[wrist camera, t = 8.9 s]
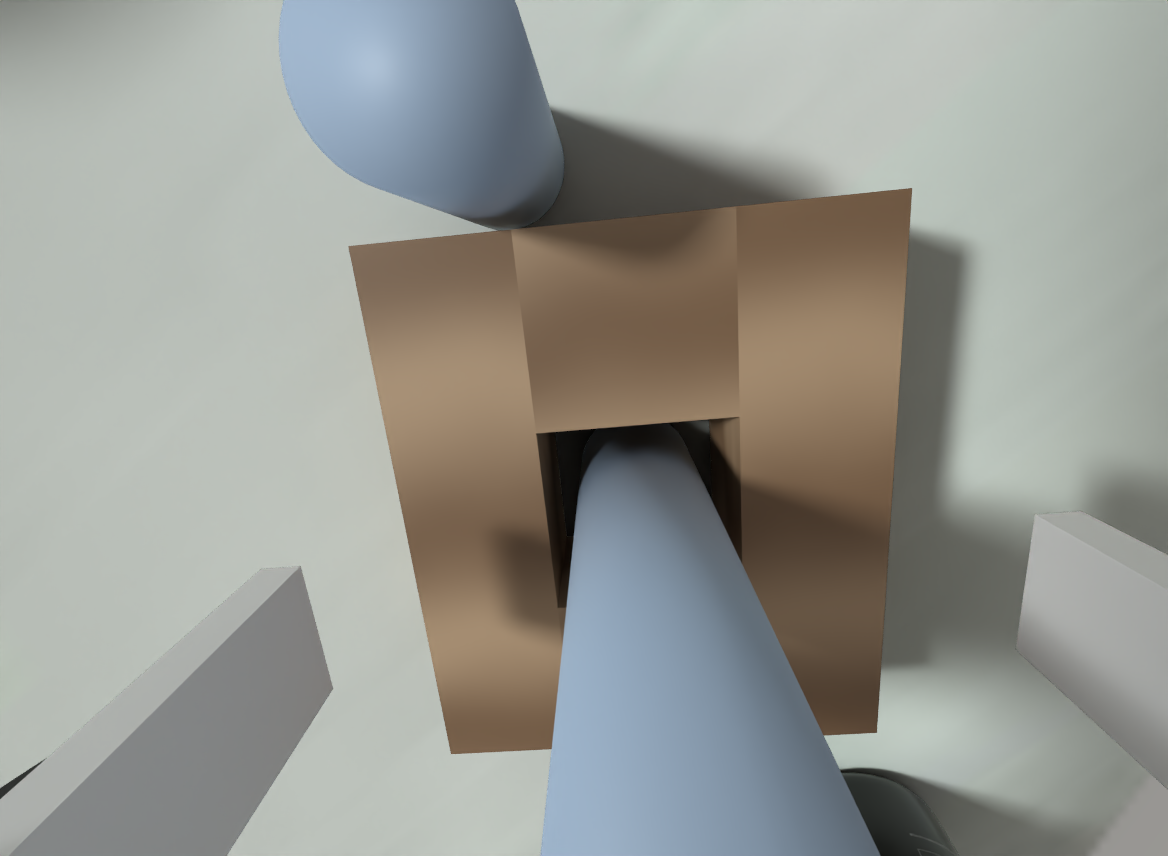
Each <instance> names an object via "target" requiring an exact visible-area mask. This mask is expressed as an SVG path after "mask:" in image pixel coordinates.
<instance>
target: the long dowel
mask: <svg viewBox="0 0 1168 856" xmlns="http://www.w3.org/2000/svg"><path fill="white" fill-rule="evenodd" d="M541 856H880V854H879V851H878V849H877V847H876V845H875V843H874V841H873V839H872V837H871V835H870V832H869V830H868V828H867V826H866V824H865V822H864V820H863V818H862V816H861V814H860V811H859V809H858V807H857V805H856V803H855V801H854V799H853V797H852V795H851V792H850V790H849V788H848V786H847V784H846V782H845V780H844V778H843V776H842V773H841V771H840V769H839V767H838V765H837V763H836V761H835V759H834V757H833V755H832V752H831V750H830V748H829V746H828V744H827V742H826V740H825V738H824V736H823V733H822V731H821V729H820V727H819V725H818V723H817V721H816V719H815V717H814V715H813V712H812V710H811V708H810V706H809V704H808V702H807V700H806V698H805V696H804V693H803V691H802V689H801V687H800V685H799V683H798V681H797V679H796V677H795V675H794V672H793V670H792V668H791V666H790V664H789V662H788V660H787V658H786V656H785V653H784V651H783V649H782V647H781V645H780V643H779V641H778V639H777V637H776V635H775V632H774V630H773V628H772V626H771V624H770V622H769V620H768V618H767V616H766V613H765V611H764V609H763V607H762V605H761V603H760V601H759V599H758V597H757V595H756V592H755V590H754V588H753V586H752V584H751V582H750V580H749V578H748V576H747V573H746V571H745V569H744V567H743V565H742V563H741V561H740V559H739V557H738V555H737V552H736V550H735V548H734V546H733V544H732V542H731V540H730V538H729V536H728V533H727V531H726V529H725V527H724V525H723V523H722V521H721V519H720V517H719V515H718V512H717V510H716V508H715V506H714V504H713V502H712V500H711V498H710V496H709V493H708V491H707V489H706V487H705V485H704V483H703V481H702V479H701V477H700V474H699V472H698V470H697V468H696V466H695V464H694V462H693V460H692V458H691V456H690V453H689V451H688V449H687V447H686V445H685V443H684V441H683V439H682V438H681V436H680V434H679V433H678V432H677V431H676V430H675V429H674V428H673V427H672V426H671V425H670V424H668V423H657V424H645V425H633V426H621V427H608V428H597V429H596V430H595V431H594V432H593V434H592V435H591V436H590V438H589V439H588V441H587V443H586V445H585V448H584V451H583V455H582V463H581V473H580V483H579V492H578V502H577V511H576V521H575V531H574V540H573V550H572V559H571V569H570V578H569V588H568V598H567V607H566V617H565V626H564V636H563V646H562V655H561V665H560V674H559V684H558V693H557V703H556V713H555V722H554V732H553V741H552V751H551V760H550V770H549V780H548V789H547V799H546V808H545V818H544V828H543V837H542V847H541Z"/></svg>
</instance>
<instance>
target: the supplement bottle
mask: <svg viewBox="0 0 1168 856" xmlns="http://www.w3.org/2000/svg"><path fill="white" fill-rule="evenodd" d="M842 776H843V778H844V780H845V782H846V784H847V786H848V788H849V790H850V792H851V795H852V797H853V799H854V801H855V803H856V805H857V807H858V809H859V811H860V814H861V816H862V818H863V820H864V822H865V824H866V826H867V828H868V830H869V832H870V835H871V837H872V839H873V841H874V843H875V845H876V847H877V849H878V851H879V854H880V856H959V854H958V852H957V851H956V849H955V847H954V846H953V844H952V842H951V841H950V839H949V838H948V836H947V834H946V833H945V831H944V830H943V828H942V826H941V825H940V823H939V821H938V820H937V818H936V817H935V815H934V814H933V812H932V811H931V809H930V808H929V807H928V806H927V804H926V803H925V802H924V801H923V800H922V799H921V798H920V797H919V796H917V795H916V794H915V793H914V792H912V791H911V790H909V789H908V788H906V787H904V786H903V785H901V784H899V783H897V782H895V781H892V780H890V779H887V778H884V777H881V776H877V775H872V774H866V773H852V772H849V773H842Z"/></svg>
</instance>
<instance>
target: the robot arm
mask: <svg viewBox="0 0 1168 856" xmlns="http://www.w3.org/2000/svg"><path fill="white" fill-rule="evenodd" d="M1016 650H1017V651H1018V652H1019V653H1020V654H1021V655H1022V656H1023V657H1024V658H1025V659H1027V660H1028V661H1029V662H1030V663H1031V664H1032V665H1033V666H1034V667H1035V668H1036V669H1037V670H1039V671H1040V672H1041V673H1042V674H1043V675H1044V676H1045V677H1046V678H1047V679H1048V680H1049V681H1050V682H1052V683H1053V684H1054V685H1055V686H1056V687H1057V688H1058V689H1059V690H1060V691H1061V692H1062V693H1063V694H1065V695H1066V696H1067V697H1068V698H1069V699H1070V700H1071V701H1072V702H1073V703H1074V704H1075V705H1077V706H1078V707H1079V708H1080V709H1081V710H1082V711H1083V712H1084V713H1085V714H1086V715H1087V716H1088V717H1090V718H1091V719H1092V720H1093V721H1094V722H1095V723H1096V724H1097V725H1098V726H1099V727H1100V728H1101V729H1103V730H1104V731H1105V732H1106V733H1107V734H1108V735H1109V736H1110V737H1111V738H1112V739H1113V740H1114V741H1116V742H1117V743H1118V744H1119V745H1120V746H1121V747H1122V748H1123V749H1124V750H1125V751H1126V752H1128V753H1129V754H1130V755H1131V756H1132V757H1133V758H1134V759H1135V760H1136V761H1137V762H1138V763H1139V764H1141V765H1142V766H1143V767H1144V768H1145V769H1146V770H1147V771H1148V772H1149V773H1150V774H1151V775H1152V776H1154V777H1155V778H1156V779H1157V780H1158V781H1159V782H1160V783H1161V784H1162V785H1163V786H1164V787H1166V788H1167V789H1168V555H1167V554H1165V553H1163V552H1161V551H1159V550H1157V549H1155V548H1153V547H1151V546H1149V545H1147V544H1145V543H1143V542H1141V541H1139V540H1137V539H1135V538H1134V537H1132V536H1130V535H1128V534H1126V533H1124V532H1122V531H1120V530H1118V529H1116V528H1114V527H1112V526H1110V525H1108V524H1106V523H1104V522H1102V521H1100V520H1098V519H1096V518H1094V517H1092V516H1090V515H1088V514H1086V513H1084V512H1082V511H1074V512H1060V513H1046V514H1035V517H1034V524H1033V531H1032V538H1031V545H1030V552H1029V559H1028V566H1027V573H1026V580H1025V587H1024V594H1023V601H1022V608H1021V615H1020V622H1019V629H1018V635H1017V642H1016ZM332 690H333V686H332V683H331V679H330V675H329V671H328V668H327V664H326V660H325V656H324V653H323V649H322V645H321V641H320V638H319V634H318V630H317V626H316V622H315V619H314V615H313V611H312V607H311V604H310V600H309V596H308V592H307V589H306V585H305V581H304V577H303V574H302V570H301V566H294V567H280V568H266V569H260V570H259V571H258V572H257V573H256V574H254V575H253V576H252V577H251V578H250V579H249V580H248V581H247V582H245V583H244V584H243V585H242V586H241V587H240V588H239V589H238V590H236V591H235V592H234V593H233V594H232V595H231V596H230V597H228V598H227V599H226V600H225V601H224V602H223V603H222V604H221V605H219V606H218V607H217V608H216V609H215V610H214V611H213V612H211V613H210V614H209V615H208V616H207V617H206V618H205V619H204V620H202V621H201V622H200V623H199V624H198V625H197V626H196V627H195V628H193V629H192V630H191V631H190V632H189V633H188V634H187V635H185V636H184V637H183V638H182V639H181V640H180V641H179V642H178V643H176V644H175V645H174V646H173V647H172V648H171V649H170V650H169V651H167V652H166V653H165V654H164V655H163V656H162V657H161V658H159V659H158V660H157V661H156V662H155V663H154V664H153V665H152V666H150V667H149V668H148V669H147V670H146V671H145V672H144V673H143V674H141V675H140V676H139V677H138V678H137V679H136V680H135V681H133V682H132V683H131V684H130V685H129V686H128V687H127V688H126V689H124V690H123V691H122V692H121V693H120V694H119V695H118V696H116V697H115V698H114V699H113V700H112V701H111V702H110V703H109V704H107V705H106V706H105V707H104V708H103V709H102V710H101V711H100V712H98V713H97V714H96V715H95V716H94V717H93V718H92V719H90V720H89V721H88V722H87V723H86V724H85V725H84V726H83V727H81V728H80V729H79V730H78V731H77V732H76V733H75V734H74V735H72V736H71V737H70V738H69V739H68V740H67V741H66V742H64V743H63V744H62V745H61V746H60V747H59V748H58V749H57V750H55V751H54V752H53V753H52V754H51V755H50V756H49V757H48V758H46V759H44V760H43V761H41V762H40V763H38V764H37V765H35V766H34V767H32V768H30V769H29V770H27V771H26V772H24V773H23V774H21V775H20V776H18V777H17V778H15V779H14V780H12V781H10V782H9V783H7V784H6V785H4V786H3V787H1V788H0V856H227V854H228V853H229V851H230V850H231V848H232V846H233V845H234V843H235V842H236V840H237V839H238V837H239V835H240V834H241V832H242V831H243V829H244V828H245V826H246V824H247V823H248V821H249V820H250V818H251V817H252V815H253V813H254V812H255V810H256V809H257V807H258V806H259V804H260V802H261V801H262V799H263V798H264V796H265V795H266V793H267V791H268V790H269V788H270V787H271V785H272V784H273V782H274V781H275V779H276V777H277V776H278V774H279V773H280V771H281V770H282V768H283V766H284V765H285V763H286V762H287V760H288V759H289V757H290V755H291V754H292V752H293V751H294V749H295V748H296V746H297V744H298V743H299V741H300V740H301V738H302V737H303V735H304V733H305V732H306V730H307V729H308V727H309V726H310V724H311V722H312V721H313V719H314V718H315V716H316V715H317V713H318V711H319V710H320V708H321V707H322V705H323V704H324V702H325V701H326V699H327V697H328V696H329V694H330V693H331V691H332Z"/></svg>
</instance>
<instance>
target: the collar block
mask: <svg viewBox="0 0 1168 856" xmlns="http://www.w3.org/2000/svg"><path fill="white" fill-rule="evenodd" d="M911 197H912V188H909V189H899V190H890V191H880V192H870V193H861V194H851V195H841V196H831V197H822V198H812V199H802V200H793V201H783V202H773V203H764V204H754V205H744V206H735V207H725V208H715V209H705V210H696V211H686V212H676V213H667V214H657V215H647V216H638V217H628V218H618V219H609V220H599V221H589V222H579V223H570V224H560V225H550V226H541V227H531V228H521V229H512V230H502V231H492V232H483V233H473V234H463V235H453V236H444V237H434V238H424V239H415V240H405V241H395V242H386V243H376V244H366V245H357V246H348V247H349V252H350V256H351V261H352V266H353V271H354V276H355V281H356V286H357V291H358V296H359V301H360V306H361V311H362V316H363V321H364V326H365V331H366V336H367V341H368V345H369V350H370V355H371V360H372V365H373V370H374V375H375V380H376V385H377V390H378V395H379V400H380V405H381V410H382V415H383V420H384V425H385V430H386V434H387V439H388V444H389V449H390V454H391V459H392V464H393V469H394V474H395V479H396V484H397V489H398V494H399V499H400V504H401V509H402V514H403V518H404V523H405V528H406V533H407V538H408V543H409V548H410V553H411V558H412V563H413V568H414V573H415V578H416V583H417V588H418V593H419V598H420V603H421V607H422V612H423V617H424V622H425V627H426V632H427V637H428V642H429V647H430V652H431V657H432V662H433V667H434V672H435V677H436V682H437V687H438V692H439V696H440V701H441V706H442V711H443V716H444V721H445V726H446V731H447V736H448V741H449V746H450V751H451V754H462V753H482V752H502V751H522V750H542V749H552V741H553V732H554V722H555V713H556V703H557V693H558V684H559V674H560V665H561V655H562V646H563V636H564V626H565V617H566V607H567V598H568V588H569V578H570V569H571V559H572V550H573V540H574V536H568V537H567V533H566V524H565V515H564V507H563V498H562V489H561V480H560V471H559V463H558V454H557V445H556V436H555V432H560V431H572V430H584V429H596V428H608V427H621V426H633V425H645V424H657V423H669V422H681V421H693V420H706V419H709V429H710V460H711V490H712V502H713V504H714V506H715V508H716V510H717V512H718V515H719V517H720V519H721V521H722V523H723V525H724V527H725V529H726V531H727V533H728V536H729V538H730V540H731V542H732V544H733V546H734V548H735V550H736V552H737V555H738V557H739V559H740V561H741V563H742V565H743V567H744V569H745V571H746V573H747V576H748V578H749V580H750V582H751V584H752V586H753V588H754V590H755V592H756V595H757V597H758V599H759V601H760V603H761V605H762V607H763V609H764V611H765V613H766V616H767V618H768V620H769V622H770V624H771V626H772V628H773V630H774V632H775V635H776V637H777V639H778V641H779V643H780V645H781V647H782V649H783V651H784V653H785V656H786V658H787V660H788V662H789V664H790V666H791V668H792V670H793V672H794V675H795V677H796V679H797V681H798V683H799V685H800V687H801V689H802V691H803V693H804V696H805V698H806V700H807V702H808V704H809V706H810V708H811V710H812V712H813V715H814V717H815V719H816V721H817V723H818V725H819V727H820V729H821V731H822V733H823V735H841V734H861V733H877V721H878V706H879V690H880V675H881V660H882V644H883V629H884V613H885V598H886V582H887V567H888V552H889V536H890V521H891V505H892V490H893V475H894V459H895V444H896V428H897V413H898V398H899V382H900V367H901V351H902V336H903V320H904V305H905V290H906V274H907V259H908V243H909V228H910V213H911Z"/></svg>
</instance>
